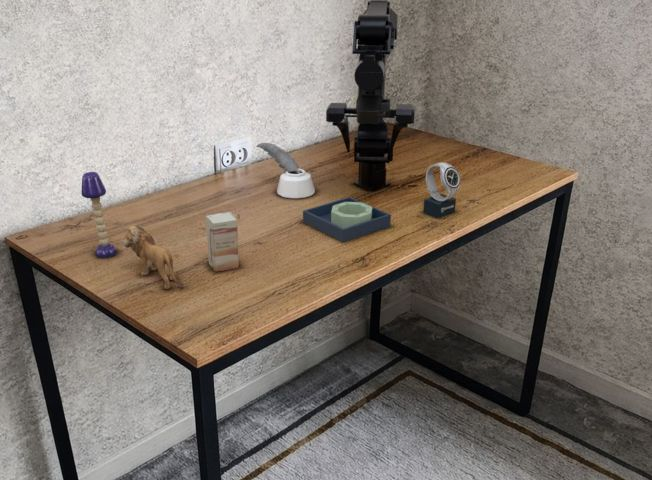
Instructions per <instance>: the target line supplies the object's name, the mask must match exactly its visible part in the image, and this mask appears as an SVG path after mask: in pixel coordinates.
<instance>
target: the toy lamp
mask: <svg viewBox="0 0 652 480" xmlns="http://www.w3.org/2000/svg"><path fill="white" fill-rule="evenodd" d="M106 193H107V190H106V187H105V185H104V182H103V180H102V179H101V177H100V175H99V173H98V172H96V171H88V172H84V173H83V174H82V177H81V193H80V194H81V196H82V197H83V198H85V199H90V201H91V207H92V209H93V212H92V213H93V216H94V222H95V224H96V227H95V228H96V230H97V236H98V238H99V245H97V247H96V248H95V256H96V257H97V258H102V259H103V258H104V259H106V258H107V259H108V258H111V257H113V256H115V255H117V254H118V251H117V248H116V247H115V245H114V244H112V243H110V241H109V238H108V233H107V231H106V230H107V227H106V224H105V218H104V212H103V209H102V207H103V206H102V202H101V197H103V196H105V195H106Z"/></svg>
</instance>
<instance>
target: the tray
mask: <svg viewBox="0 0 652 480" xmlns="http://www.w3.org/2000/svg"><path fill="white" fill-rule="evenodd" d="M343 202H362V201H360V200H358V199H356V198H353V197H351V196H348V197H344V198H340V199H337V200H334V201H331V202H327V203H324V204H321V205H316V206H314V207H311V208H307V209H304V210H302V223H304V224H305V225H308V226H310V227H311V228H314V229H316V230H317V231H320V232H322V233H324V234H325V235H328V236H329V237H332V238H333V239H336V240H338V241H340V242H341V243H345V242H347V241H350V240H351V241H352V240H354V239H357V238H359V237H363V236H365V235H369V234H372V233H374V232H377V231H380V230H384V229H387V228H390V227H391V220H392V214H390V213H388V212H386V211H384V210H381V209H379V208H377V207H374V206H373V205H370V204H367V203H365V202H362V203H364V204H366V205H369V206H371V207H372V220H369V221H365V222H362V223H359V224H356V225H353V226H350V227H347V228H344V229H343V228H341V227H339V226H337V225H335V224H333V223H331V211H332V207H333V205H337V204H340V203H343Z"/></svg>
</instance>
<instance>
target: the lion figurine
mask: <svg viewBox="0 0 652 480" xmlns="http://www.w3.org/2000/svg"><path fill="white" fill-rule="evenodd" d="M127 229H128V231H127V233H126V234H125V236H124V237H123V238H122V239H121V240H120V242H121V243H122V244H123V245H124V247H125V249H129V248H130V249H131V251H132V252H134V253H135V254H136V257H138V258H139V261H140V264H141V267H142V269H143V270H142V271H141V272H140V275H141V276H147V275H149V272H150V271H149V267H148V261H149V262H150V263H151V266H150V270H151V271H156V270H157V271H158V273H159V275H160V276H161V278H162V279H163V281H164V283H165V284H164V285H163V289H164V290H169V289H171V281H174V282H175V283H176V284H177V285H178V286H179V287H184V286H185V284H184V283H182V282H181V281H180V280H178V279H177V278H176V274H175V271H174V259H173V256H172V254H171V252H170V251H169V249H167V248H166V247H162V246H160V245H159V244H157V243H156V242H155V240H154V238H153V236H152V235H151V233H149V232H148V231H147V230H145V229H144V228H143V227H141V226H139V225H131V226H128V227H127ZM166 267H167V268H168V271H169V277H168V275H167V273H166V269H165V268H166ZM170 280H171V281H170Z"/></svg>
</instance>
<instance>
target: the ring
mask: <svg viewBox="0 0 652 480" xmlns="http://www.w3.org/2000/svg"><path fill="white" fill-rule="evenodd" d="M364 203H365V202H363V203H362V201H361V202H343V203H340V204H337V205H333V207H332V211H331V223H333V224H335V225H337V226H339V227H341V228H343V229H344V228H347V227H350V226H353V225H356V224H359V223H362V222H365V221H369V220H372V207H373V206H372V205H370V204H367V203H365V204H364ZM366 204H367V205H366ZM369 205H370V206H369ZM371 206H372V207H371Z"/></svg>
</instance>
